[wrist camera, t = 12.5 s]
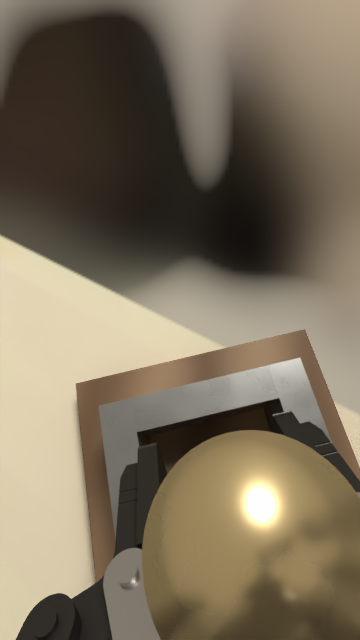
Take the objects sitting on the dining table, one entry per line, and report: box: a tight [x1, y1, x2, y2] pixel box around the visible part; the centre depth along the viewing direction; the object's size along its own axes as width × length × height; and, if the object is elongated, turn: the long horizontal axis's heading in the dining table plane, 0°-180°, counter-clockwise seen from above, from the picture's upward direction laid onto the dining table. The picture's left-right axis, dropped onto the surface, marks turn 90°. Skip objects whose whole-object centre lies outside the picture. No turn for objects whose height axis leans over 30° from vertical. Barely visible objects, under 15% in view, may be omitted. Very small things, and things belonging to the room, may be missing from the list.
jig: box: [76, 330, 360, 583], centre depth 15 cm, size 14×14×6 cm
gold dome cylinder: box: [142, 430, 360, 640], centre depth 11 cm, size 4×4×10 cm
